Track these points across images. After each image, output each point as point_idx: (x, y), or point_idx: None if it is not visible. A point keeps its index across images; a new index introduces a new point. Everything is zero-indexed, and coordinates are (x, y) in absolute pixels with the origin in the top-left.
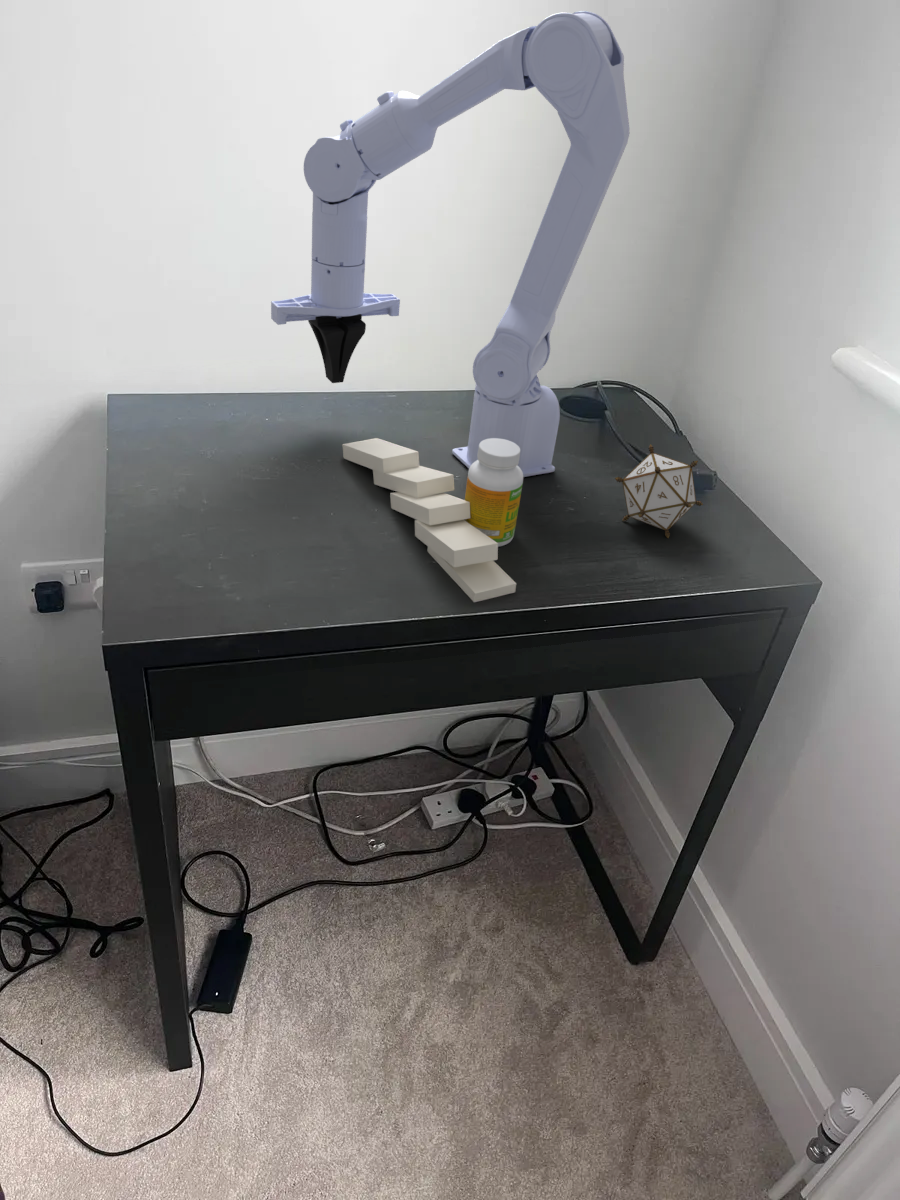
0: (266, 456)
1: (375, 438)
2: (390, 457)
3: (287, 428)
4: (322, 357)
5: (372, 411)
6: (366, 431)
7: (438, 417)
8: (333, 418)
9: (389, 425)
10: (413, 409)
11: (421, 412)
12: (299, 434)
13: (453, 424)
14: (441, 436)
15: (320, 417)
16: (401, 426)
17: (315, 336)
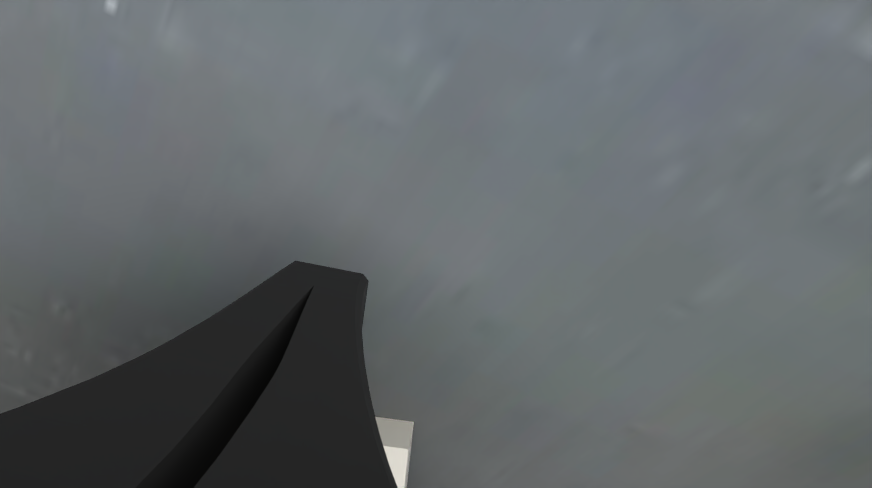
0: (39, 286)
1: (399, 453)
2: None
3: (176, 132)
4: (216, 313)
5: (633, 160)
6: (473, 299)
7: (842, 337)
8: (415, 139)
9: (594, 301)
10: (825, 230)
11: (826, 270)
12: (206, 202)
13: (831, 404)
14: (698, 444)
15: (364, 102)
16: (632, 328)
17: (35, 404)
